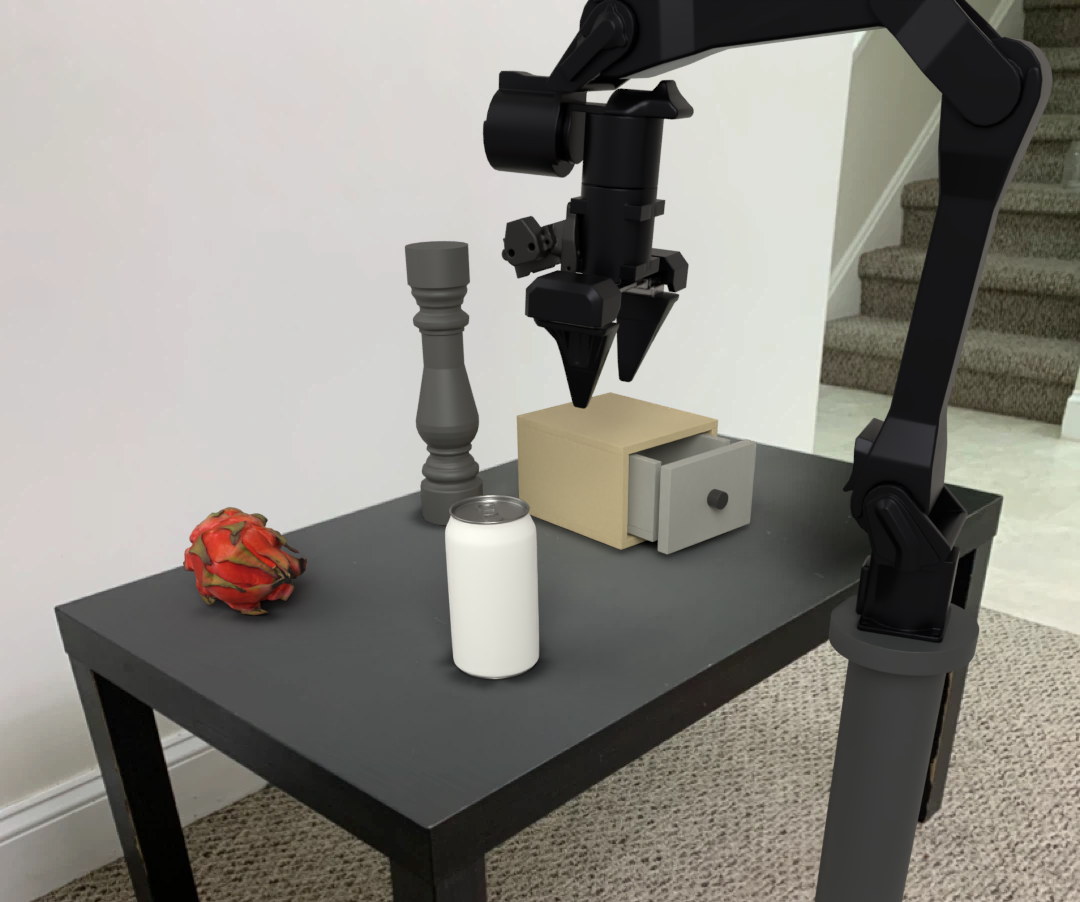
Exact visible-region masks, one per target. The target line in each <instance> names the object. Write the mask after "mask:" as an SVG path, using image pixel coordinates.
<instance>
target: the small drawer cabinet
mask: <svg viewBox="0 0 1080 902" xmlns="http://www.w3.org/2000/svg"><path fill="white" fill-rule="evenodd" d="M718 428H719V419H718V418H713V417H710V416H705V415H701V414H697V413H694V412H690V411H686V410H682V409H677V408H673V407H671V406H666V405H662V404H658V403H655V402H650V401H646V400H642V399H638V398H634V397H630V396H626V395H622V394H618V393H615V392H611V391H610V392H606V393H602V394H598V395H593V396H592V397H591V400H590V402H589V404H588V407H587V408H585V409H582V408H577V407H574V406H573V403H572V401H569V402H566V403H561V404H559V405H554V406H550V407H546V408H542V409H537V410H534V411H530V412H526V413H522V414H518V415H516V441H517V442H516V443H517V472H518V474H517V475H518V477H517V478H518V498H519V499H521V500H523V501H525V502H527V503H528V504H529V506H530V511H529V514H530V516H531V517H535V518H538V519H539V520H543V521H545V522H547V523H550V524H553V525H556V526H558V527H559V528H560V527H561V528H563V529H565V530H568V531H571V532H573V533H576V534H578V535H581V536H583V537H586V538H588V539H591V540H594V541H597V542H599V543H602V544H605V545H607V546H610V547H612V548H615V549H618V550H619V551H620V550H625V549H627V548H630V547H633V546H636V545H639V544H641V543H644V542H647V541H648V540H646V539H643V538H641V537H638V536H635V535H632V534H630V533H627V524H628V479H629V454H632V453H635V452H638V451H642V450H645V449H648V448H652V447H655V446H658V445H662V444H665V443H669V442H672V441H675V440H679V439H682V438H685V437H689V436H692V435H695V434H699V433H706V434H710V435H714V436H717V437H718V432H719V431H718Z"/></svg>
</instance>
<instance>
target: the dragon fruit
mask: <svg viewBox="0 0 1080 902" xmlns="http://www.w3.org/2000/svg"><path fill="white" fill-rule="evenodd" d="M268 521H269V519H268V518H267V517H266V516H265V515H263V514H262V513H258V512H257V513H256V512H255V513H247V512H244V511H243V510H241V509H240V508H237V507H234V506H233V507H232V506H231V507H230V506H228V507H225V508H222V509H220V510H219V511H217V512H211V513H209V514H208V515H207V516H206V518H205V519H203V520H202V521H201V522H199V524H197V525H196V526H195V527H194V528H193V530H192V531H191V532H190V535H189V537H188V539H189V542H190V543H191V546H190V547H187V548H185V550H184V554H183V556H184V559H183V560H184V561H183V562H182V566H183V570H184V571H185V572H192V573H193V572H194V576H195V587H196V589H197V592H198V594H199V595H200V597H201V598H202V600H203V601H204V603H206V604H207V605H209V606H211V605H213V604H214V603H216V602H217V601H218V600H220V601H222V602H224V603H225V604H227V605H228V606H229V607H230V608H231V609H233V610H235V611H239V612H240V614H242V615H249V616H259V615H265V614H269V613H270V612H269V611H268V610H264V609H263V608H262V607H261V601H266V600H268V601H277V600H279V599H280V600H282V601H285V602H287V600H289V597H290V596H291V594H293V592H294V591H295V584H294V581H293V580H295V579H297V578H299V577H300V576H302V575H303V574H304V573H305V572H306V570H307V565H308V560H307V557H306V556H300V558H299V557H295V556H293V555H291V554H289V553H287V552H285V551H283V550H282V547H284V548H286V549H287V550H288V551H291V552H292V553H293V554H300V551H298V549H296V548H293V547H291V546H290V545H289V544H288V539H287V537H285V536H284V535H282V534H281V532H280V531H278V530H275V529H273V528H272V527H266V526H267V523H268Z"/></svg>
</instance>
